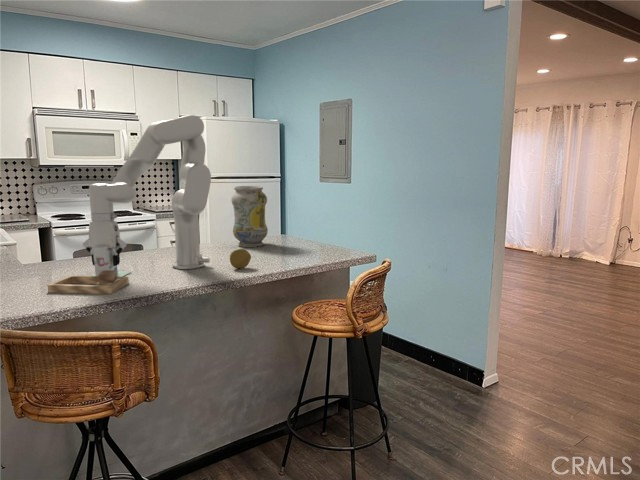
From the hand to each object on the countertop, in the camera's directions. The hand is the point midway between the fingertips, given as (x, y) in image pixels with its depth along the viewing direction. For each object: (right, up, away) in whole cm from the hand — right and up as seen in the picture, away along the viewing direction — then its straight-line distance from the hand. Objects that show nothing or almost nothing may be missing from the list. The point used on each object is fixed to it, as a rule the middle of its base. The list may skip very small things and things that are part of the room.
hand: (106, 264), depth 172 cm
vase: (+44, +6, +66) cm, 79 cm away
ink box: (0, -4, +1) cm, 5 cm away
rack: (+1, -7, -14) cm, 16 cm away
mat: (0, -5, +1) cm, 5 cm away
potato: (+47, -3, +15) cm, 50 cm away
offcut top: (+8, -5, -15) cm, 18 cm away
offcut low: (+8, -8, -14) cm, 18 cm away
